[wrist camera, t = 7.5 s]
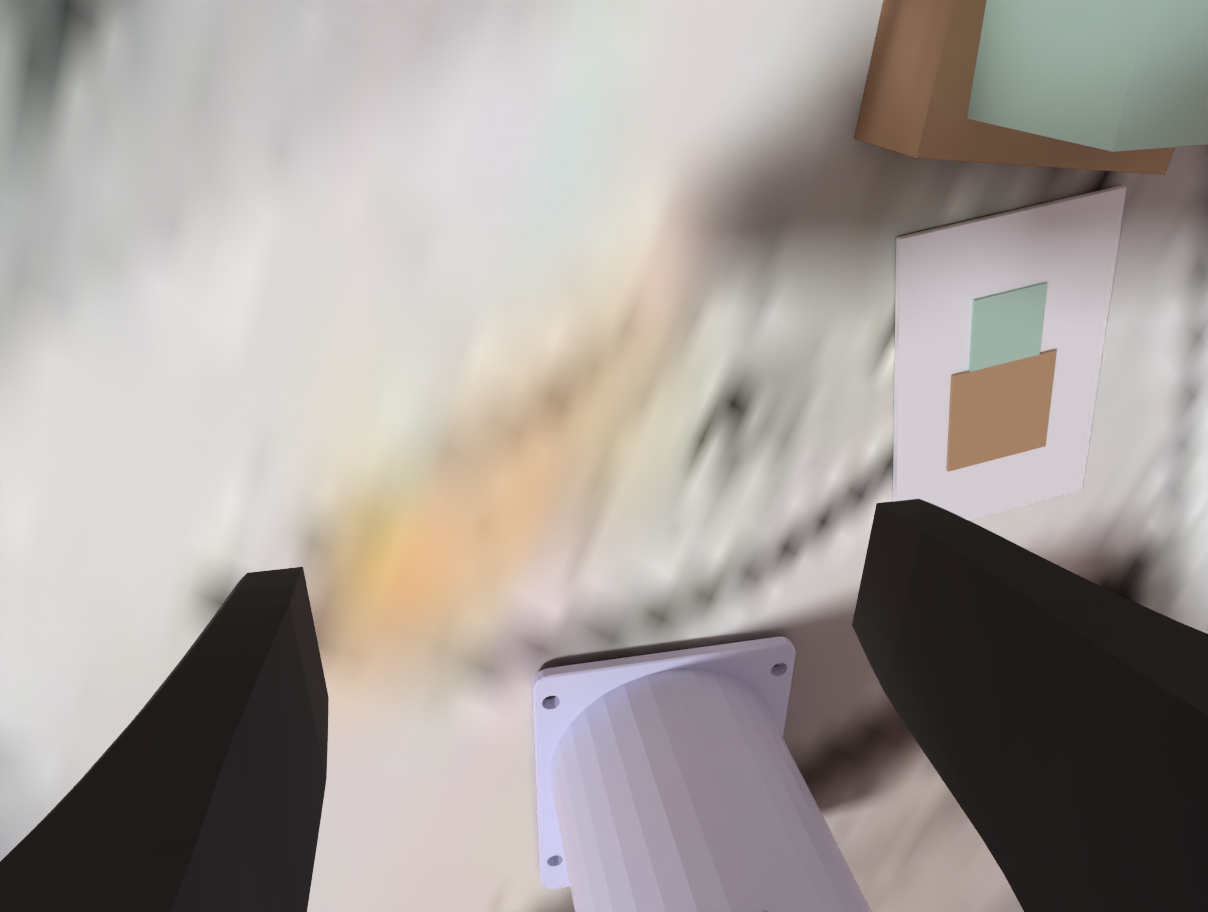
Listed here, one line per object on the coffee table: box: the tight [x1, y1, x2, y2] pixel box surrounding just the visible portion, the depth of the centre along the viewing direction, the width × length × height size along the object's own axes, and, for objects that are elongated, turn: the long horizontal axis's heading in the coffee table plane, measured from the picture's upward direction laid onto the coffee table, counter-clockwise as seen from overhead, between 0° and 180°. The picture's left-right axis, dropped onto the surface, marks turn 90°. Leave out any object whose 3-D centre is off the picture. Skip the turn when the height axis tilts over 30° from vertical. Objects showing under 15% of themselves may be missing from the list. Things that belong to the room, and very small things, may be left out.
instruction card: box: [893, 186, 1127, 520], centre depth 23 cm, size 9×6×1 cm, turn 10°
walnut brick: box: [854, 0, 1175, 175], centre depth 18 cm, size 6×6×3 cm
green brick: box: [967, 0, 1208, 152], centre depth 15 cm, size 4×4×4 cm
